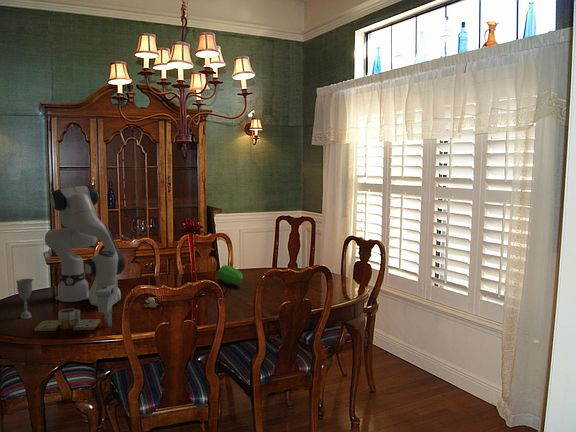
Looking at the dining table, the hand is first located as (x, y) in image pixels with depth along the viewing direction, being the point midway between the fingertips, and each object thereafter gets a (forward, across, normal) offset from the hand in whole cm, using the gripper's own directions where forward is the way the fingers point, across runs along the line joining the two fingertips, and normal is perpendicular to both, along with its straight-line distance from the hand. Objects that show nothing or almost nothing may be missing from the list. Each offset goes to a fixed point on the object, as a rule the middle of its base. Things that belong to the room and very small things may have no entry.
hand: (108, 316), depth 227 cm
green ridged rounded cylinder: (+5, -74, +57) cm, 94 cm away
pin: (+5, 0, 0) cm, 5 cm away
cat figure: (+5, -32, +23) cm, 40 cm away
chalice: (+5, -17, -42) cm, 46 cm away
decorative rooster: (+5, -38, -10) cm, 40 cm away
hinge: (+5, -2, -18) cm, 19 cm away
